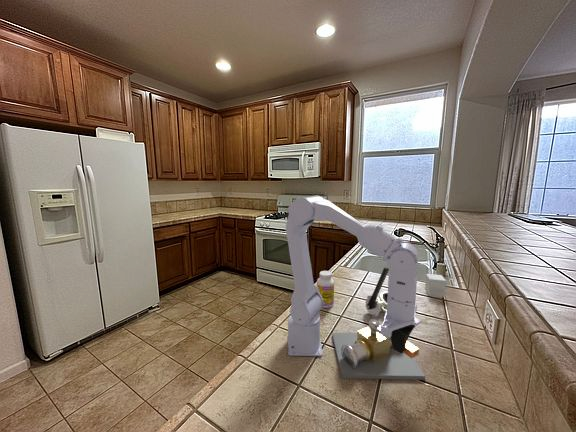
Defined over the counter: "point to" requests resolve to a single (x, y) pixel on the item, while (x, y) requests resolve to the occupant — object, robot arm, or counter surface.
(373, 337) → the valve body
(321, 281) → the supplement bottle
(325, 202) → the robot arm
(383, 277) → the butterfly valve
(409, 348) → the lever
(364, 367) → the mounting board
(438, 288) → the product box
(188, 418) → the counter surface
